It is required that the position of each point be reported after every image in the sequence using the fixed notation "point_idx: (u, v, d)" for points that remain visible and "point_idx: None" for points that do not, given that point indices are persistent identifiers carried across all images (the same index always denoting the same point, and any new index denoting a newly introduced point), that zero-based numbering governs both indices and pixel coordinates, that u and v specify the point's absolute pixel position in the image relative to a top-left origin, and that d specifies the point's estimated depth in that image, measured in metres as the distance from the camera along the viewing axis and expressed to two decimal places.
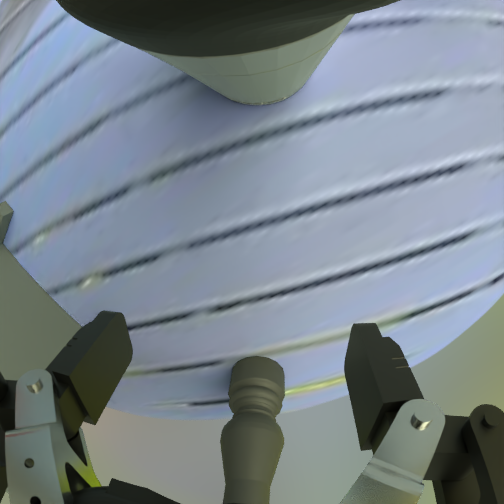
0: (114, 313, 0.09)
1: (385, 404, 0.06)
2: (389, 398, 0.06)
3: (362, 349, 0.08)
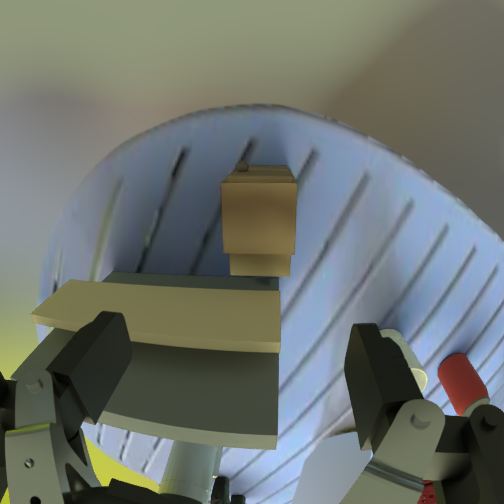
0: (114, 313, 0.09)
1: (385, 404, 0.06)
2: (389, 398, 0.06)
3: (362, 349, 0.08)
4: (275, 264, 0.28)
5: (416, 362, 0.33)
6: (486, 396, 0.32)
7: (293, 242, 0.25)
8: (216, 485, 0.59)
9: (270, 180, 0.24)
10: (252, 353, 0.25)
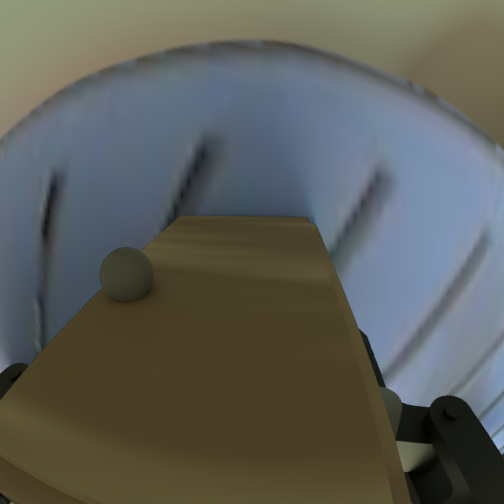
0: None
1: None
2: None
3: None
4: None
5: None
6: None
7: None
8: None
9: None
10: None
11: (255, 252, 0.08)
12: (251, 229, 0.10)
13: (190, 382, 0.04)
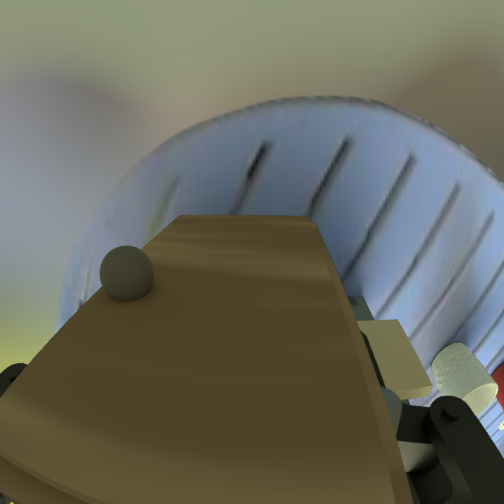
0: None
1: None
2: None
3: None
4: None
5: (490, 376, 0.27)
6: None
7: None
8: None
9: None
10: None
11: (255, 251, 0.08)
12: (251, 228, 0.10)
13: (190, 380, 0.04)
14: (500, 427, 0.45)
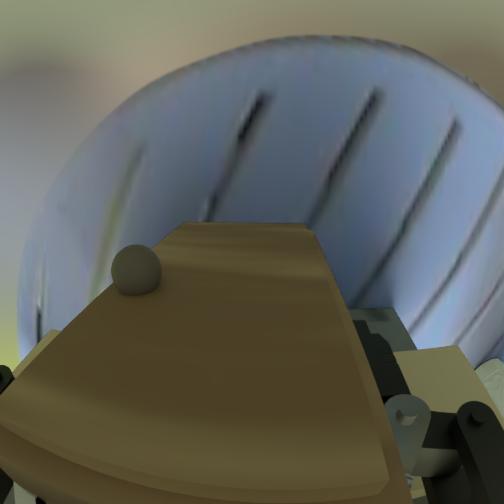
0: None
1: None
2: None
3: None
4: None
5: None
6: None
7: None
8: None
9: (225, 496, 0.02)
10: None
11: (255, 253, 0.09)
12: (251, 234, 0.11)
13: (197, 359, 0.04)
14: None
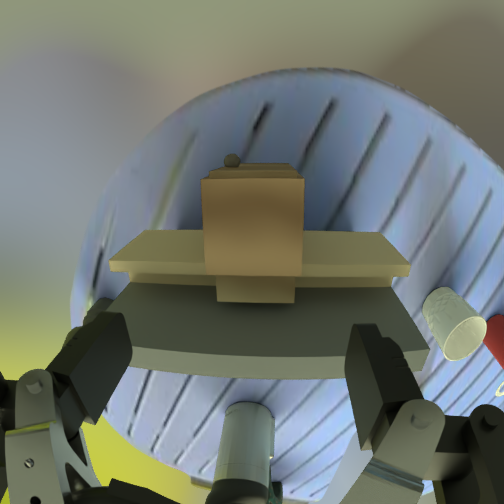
0: (114, 313, 0.09)
1: (385, 404, 0.06)
2: (389, 398, 0.06)
3: (362, 349, 0.08)
4: (275, 287, 0.21)
5: (477, 312, 0.33)
6: None
7: (299, 259, 0.18)
8: None
9: (268, 175, 0.17)
10: (368, 288, 0.25)
11: None
12: None
13: (257, 168, 0.19)
14: (497, 393, 0.51)
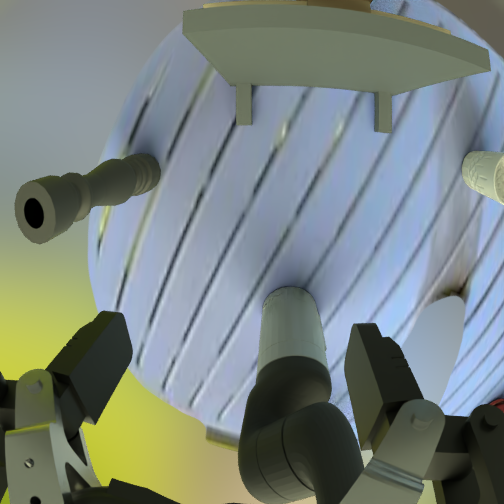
0: (114, 313, 0.09)
1: (385, 404, 0.06)
2: (389, 398, 0.06)
3: (362, 349, 0.08)
4: None
5: None
6: None
7: None
8: None
9: None
10: None
11: None
12: None
13: None
14: None
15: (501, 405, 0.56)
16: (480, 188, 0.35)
